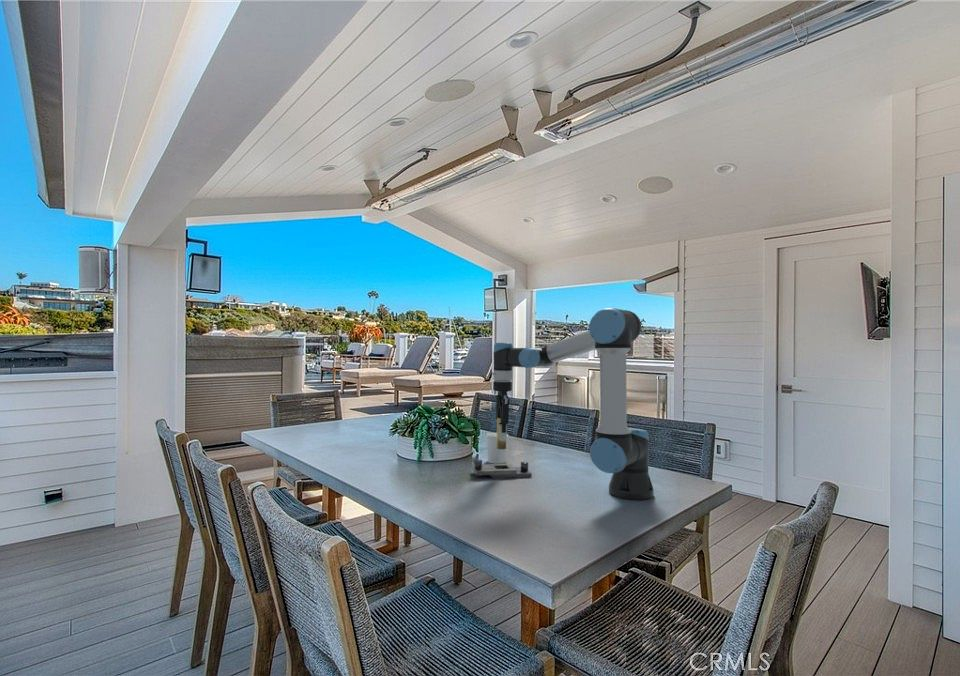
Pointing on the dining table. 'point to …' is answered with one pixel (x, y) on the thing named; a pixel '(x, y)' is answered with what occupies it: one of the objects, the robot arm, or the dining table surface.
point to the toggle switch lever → (499, 443)
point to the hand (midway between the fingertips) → (501, 439)
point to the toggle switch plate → (501, 470)
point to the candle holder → (495, 450)
